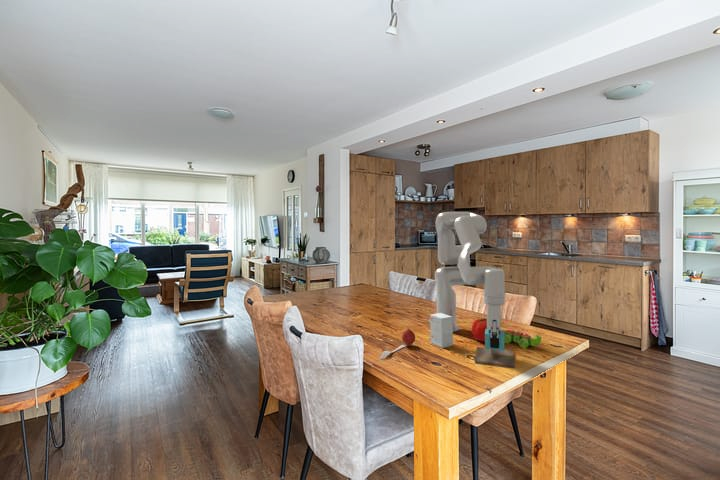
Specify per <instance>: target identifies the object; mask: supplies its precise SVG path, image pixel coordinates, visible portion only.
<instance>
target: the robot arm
mask: <svg viewBox="0 0 720 480" xmlns="http://www.w3.org/2000/svg"><path fill="white" fill-rule="evenodd" d="M434 223H435V230H436V233H437V261H438V262H439V263H440V264H441V265H456V266H442V267H439V268H437V269H436V270H435V271H434V281H435V286H436V287H435V289H436V314H437V313H443V314H446V315H449V316H452V317H453V333H454V332H458V331H460V326H459V325H457V295H456V292H455V290H454V289H453V286H465V285H468V286H477V285H478V286H481V285H483V291H484V292H483V293H484V295H483V297H484V299H483V300H484V301H483V302H484V304H485V305H486V306H487V307H486V318H487V330H489V329H491V337H490V347H491V348H499V338H498V330H499V331H500V330H501V326H502V306H505V302H506V301H505V300H506V299H505V297H506V295H505V294H506V293H505V292H506V291H505V290H506V289H505V287H506V286H505V285H506V283H505V279H506V278H505V271H504V270H503V269H502V268H495V267H493V266H489V265H487V266H485V265H484V266H482V265H481V266H471V265H470V264H471V259H470V258H471V256H470V255H471V254H473V253H475V252H478V250H480V248H482V246H483V243H482V240H481V238H480V235H479V234H484V233H485V232H486V231H487V228H488V225H487V224H488V223H487V221H486V219H485V218H484V217H483V216H482V215H480V214H477V213H474V212H470V211H445V212H441V213H439V214H437V216H436V217H435V222H434ZM453 230H455V231H456V232H455V233H456V235H457V237H458V241H459V243H460V245H456V236H455V234H454V232H453ZM428 323H429V324H430V318H428ZM492 328H493V329H492ZM492 331H493V332H492Z"/></svg>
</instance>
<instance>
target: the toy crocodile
mask: <svg viewBox="0 0 720 480" xmlns="http://www.w3.org/2000/svg"><path fill="white" fill-rule="evenodd" d="M511 342H515V343H517V344H518V345H519V347H520V348H522V349H527V348H528V347H529V346H533V347H534V346H538V345H540V344H541V342H542V336H541V335H540V334H539V333H537V334H536V337H535V336H534V337H533V336H531V335H530V334H528V333H525V334H524V333H523V332H522V331H515V330H512V329H511V330H510V329H505V330H504V344H511Z"/></svg>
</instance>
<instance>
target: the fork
mask: <svg viewBox="0 0 720 480" xmlns="http://www.w3.org/2000/svg"><path fill="white" fill-rule="evenodd" d="M406 347H407V345H406V344H401V345H399V346H398V347H397V348H395V349H394V350H392V351H388V350H384V351H383V352H382V354H381V355H380V357H379V360H380V359H381V360H382V361H384V360H385V359H386V358H387V356H388V355H389V354H391V353H395V352H397V351H399V350H401V349H403V348H406Z"/></svg>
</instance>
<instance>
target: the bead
mask: <svg viewBox="0 0 720 480" xmlns="http://www.w3.org/2000/svg"><path fill="white" fill-rule="evenodd" d="M504 331H505V330H503V329H502V330H501V329H500V331H499V330H498V338H499V348H491V347H490V337H491V329H489V330H487V329H485V342H484V347H485V349H490V350H500V351H504V350H505V342H504ZM492 332H493V331H492Z"/></svg>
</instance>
